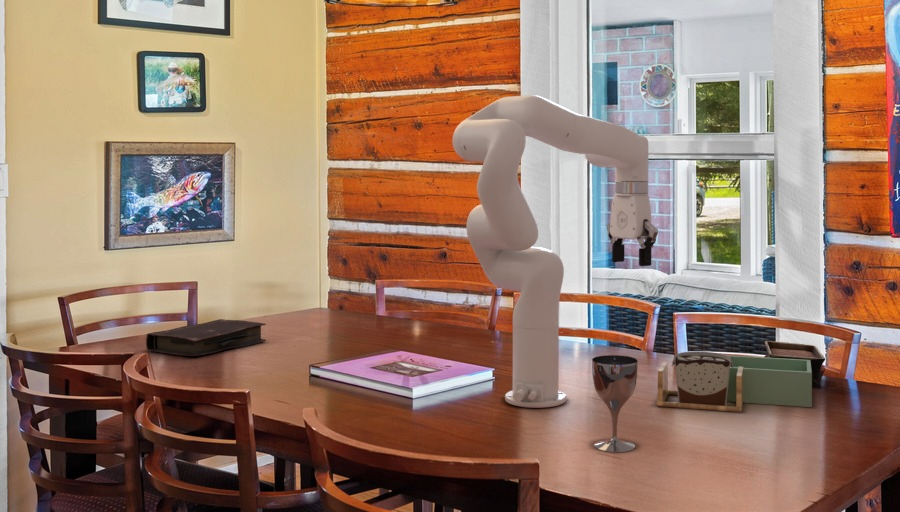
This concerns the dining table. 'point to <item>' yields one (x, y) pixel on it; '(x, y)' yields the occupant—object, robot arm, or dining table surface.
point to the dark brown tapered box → (798, 356)
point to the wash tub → (772, 381)
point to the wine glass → (614, 392)
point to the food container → (702, 377)
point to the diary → (205, 337)
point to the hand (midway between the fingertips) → (631, 263)
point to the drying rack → (664, 392)
